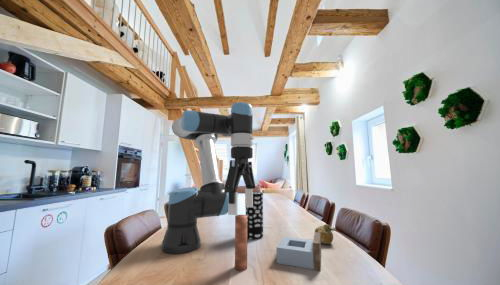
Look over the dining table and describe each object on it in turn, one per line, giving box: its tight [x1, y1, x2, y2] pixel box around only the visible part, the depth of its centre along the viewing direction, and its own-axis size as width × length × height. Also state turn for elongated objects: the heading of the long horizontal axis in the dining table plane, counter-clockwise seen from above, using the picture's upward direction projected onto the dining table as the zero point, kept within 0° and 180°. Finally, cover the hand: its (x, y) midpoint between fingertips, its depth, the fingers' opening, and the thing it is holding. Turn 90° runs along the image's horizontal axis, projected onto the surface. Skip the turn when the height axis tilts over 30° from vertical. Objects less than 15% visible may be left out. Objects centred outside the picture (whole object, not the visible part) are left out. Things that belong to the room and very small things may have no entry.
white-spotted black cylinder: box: [245, 191, 264, 241], centre depth 96 cm, size 8×8×20 cm
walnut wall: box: [312, 231, 322, 272], centre depth 69 cm, size 2×12×8 cm, turn 159°
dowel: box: [234, 214, 248, 272], centre depth 65 cm, size 4×4×16 cm
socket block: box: [275, 236, 314, 270], centre depth 71 cm, size 12×12×5 cm
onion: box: [314, 223, 337, 245], centre depth 87 cm, size 8×8×8 cm
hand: (241, 210), depth 66 cm, fingers open, 13 cm apart
